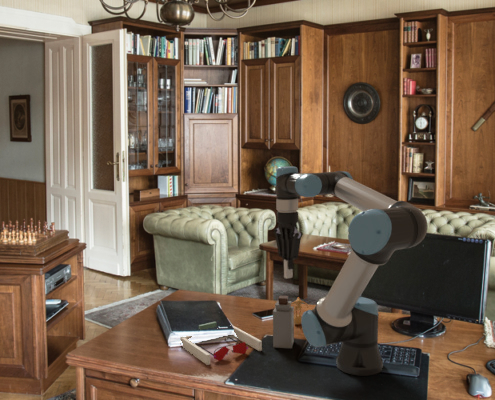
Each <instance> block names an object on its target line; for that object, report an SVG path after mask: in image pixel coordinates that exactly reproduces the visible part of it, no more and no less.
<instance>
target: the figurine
mask: <svg viewBox="0 0 495 400" xmlns="http://www.w3.org/2000/svg"><path fill="white" fill-rule="evenodd" d="M293 304H296V305H295V306H294V325H297V326H298V325H302V324H301V319H302V315H301V313H302V308H303V306H302V305H301V304H305V305H306V307H307V309H309V305H308V303H307V302H305V301H303V300H301V298H300V297H299V296H298V297H297V298H296V300H294V301H293V302H291V305H293ZM297 310H299V311H297ZM298 313H299V314H298Z"/></svg>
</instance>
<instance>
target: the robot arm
mask: <svg viewBox="0 0 495 400" xmlns="http://www.w3.org/2000/svg"><path fill="white" fill-rule="evenodd" d="M353 178H354V177H353V176H352V175H351V173H350V172H348V171H343V170H342V171H341V170H337V171H328V172H327V171H324V172H309V173H308V172H306V173H302V172H301V173H299V169H298V167H296V166H279V167H277V168H276V172H275V187H276V188H275V189H276V193H275V194H276V200H275V201H276V204H275V205H276V206H275V207H276V208H275V209H276V210H277V212H276V222H277V223H278V226H277V228H275V229H273V234H274V235H275V241H276V247H277V253H278V256H279V257H281V259H282V267H283V278H284V279H292V278H293V276H294V275H293V271H294V260H295V259H298V257H299V253H300V252H299V250H300V245H301V239H302V237H303V235H304V234H303V232H302V231H301V232H300V231H299V230H298V225H297V224H298V222H299V212H298V210H299V197H304V198H314V197H316V196H324V195H325V196H326V195H327V196H328V195H332V196H335V197H337V198H339V199H340V200H342V201H344V202H345V203H347V204H349V205H351V206H353V207H354V208H357V209H358V210H360V211H361V212H358V213H357V214H356V215H354V217H353V218H352V219H351V220H350V223H349V225H348V232H349V234H347V237H348V243H349V247H350V252H349V255H348V257H347V258H346V260H345V262H344V264H343V265H342V267H341V269H340V270H339V273H338V274H337V277H336V278H335V280H334V282H333V284H332V286H331V287H330V289H329V291H328V293H327V294H326V296H324V297H321V298H320V299H319V300H318V301H317V303H316V304H315V307H314V308H313V309H308V310H306V311H304V312H302V315H301V317H302V319H301V324H300V325H301V327H302V333H303V335H304V337H305V339H306V341H307V342H308V344H310V345H311V346H312V347H315V348H320V347H321V348H323V347H327V346H331V345H334V344H338V343H339V344H340V343H341V344H340V347H339V351H338V354H337V356H336V364H337V365H336V368H337V369H338V370H340V371H341V372H343V373H345V374H349V375H353V376H358V377H359V376H364V377H365V376H366V377H367V376H374V375H377V374H380V373H381V372H382V371H383V369H382V368H384V361H383V358H382V356H381V355H382V354H381V351H380V348H379V345H378V344H379V342H378V341H379V340H378V339H379V315H380V314H379V306H378V304H377V302H376V301H374V300H373V299H372V298H371V299H370V298H367V297H362V294H363V292H364V291H365V289H366V288H367V285H368V284H369V282H370V281H371V279H372V278H373V275H374V274H375V272H376V271H377V269H378V267H379V266H383V265H385V264H387V263H388V262H389V260H390V258H391V256H392V255H393V253H394V252H395V251H398V250H404V249H410V248H414V247H416V246H417V245H419V244H420V243H422V241H423V240H424V239H425V237H426V235H427V232H428V221H427V218H426V216H425V214H424V213H423V212H422V210H420V209H419V208H418V207H417V206H415V205H414V204H412V203H410V202H407V201H405V200H398V201H397V200H395V199H393V198H391V197H389V196H387V195H386V194H383V193H381V192H379V191H377V190H375V189H372V188H370V187H368V186H367V185H364V184H362V183H361V182H358V181H356V180H354V179H353Z"/></svg>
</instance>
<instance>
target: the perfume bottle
mask: <svg viewBox="0 0 495 400" xmlns="http://www.w3.org/2000/svg"><path fill="white" fill-rule="evenodd" d="M291 303H292V300H289V295H279V296H278V300H276V302H275V303H274V305H275V306H274V309H273V310H272V344H273V345H272V347H273V348H277V349H278V348H279V349H293V345H294V344H295V343H294V342H295V323H294V316H295V306H292V304H291Z"/></svg>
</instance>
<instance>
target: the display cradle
mask: <svg viewBox="0 0 495 400" xmlns="http://www.w3.org/2000/svg"><path fill="white" fill-rule="evenodd" d="M217 324H218V323H217V321H211V322H207V323H202V324H198V330H199V329H200V330H201V329H208V328H214V327H218V326H217ZM231 325H232V326H233V328H234V332H235V333H236V335H237V337H238V339H237V340H239V341H240V342H245V343H246V345H247V346H250V347H251V348H253V349H255V350H257V351H258V352H261V351H263V347H262V346H263V344H262V343H263V342H262V341H263V340H260V339H259V338H257V337H255V336H253V335H251V334H250V333H247V332H246V331H244V330H243V329H240V328H239V327H236V326H234V324H231ZM185 336H186V337H183V336H180V337H179V339H180V340H181V341H182V343H183V347H184V348H185V349H186V350H187V351H186V350H185V349H184V348H183V349H184V350H185V351H186V352H188V351H189V352H190V353H189V352H188V353H189V354H191V355H192V354H193V355H192V356H194V357H195V358H196V359H197V360H199V361H201V362H202V363H204V364H205V365H206V366H209V365H211V354H210V353H208V352H207V351H205V350H204V349H202V348H201V347H199V346H197V345H198V344H194V343H192V342H191V341H189V340H188V339H189V338H191V337H192V336H188V335H185ZM180 340H179V341H180Z"/></svg>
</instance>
